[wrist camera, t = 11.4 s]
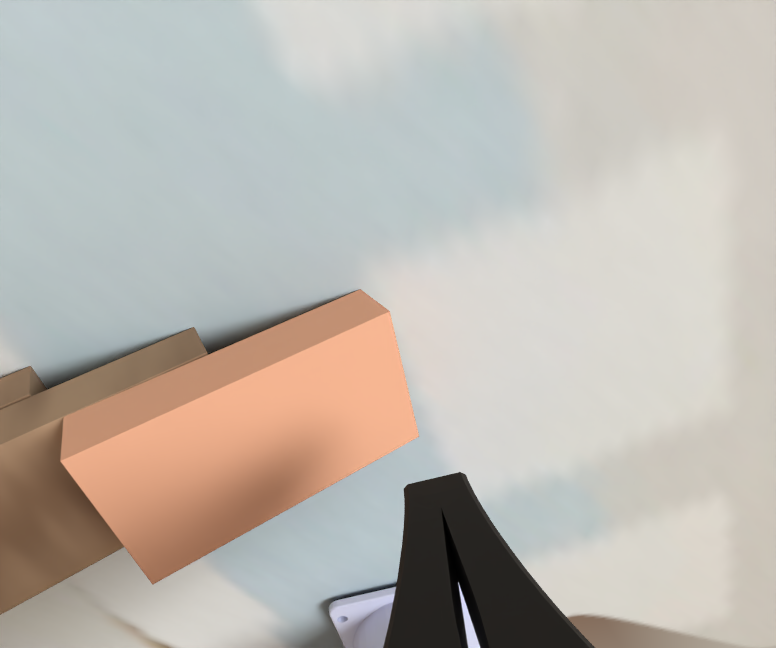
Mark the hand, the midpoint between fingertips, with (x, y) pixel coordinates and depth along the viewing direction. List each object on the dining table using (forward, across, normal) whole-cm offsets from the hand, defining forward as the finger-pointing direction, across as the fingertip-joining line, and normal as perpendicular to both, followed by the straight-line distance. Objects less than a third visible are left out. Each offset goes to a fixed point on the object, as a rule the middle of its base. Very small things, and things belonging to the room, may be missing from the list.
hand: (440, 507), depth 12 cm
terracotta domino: (+6, 0, 0) cm, 6 cm away
